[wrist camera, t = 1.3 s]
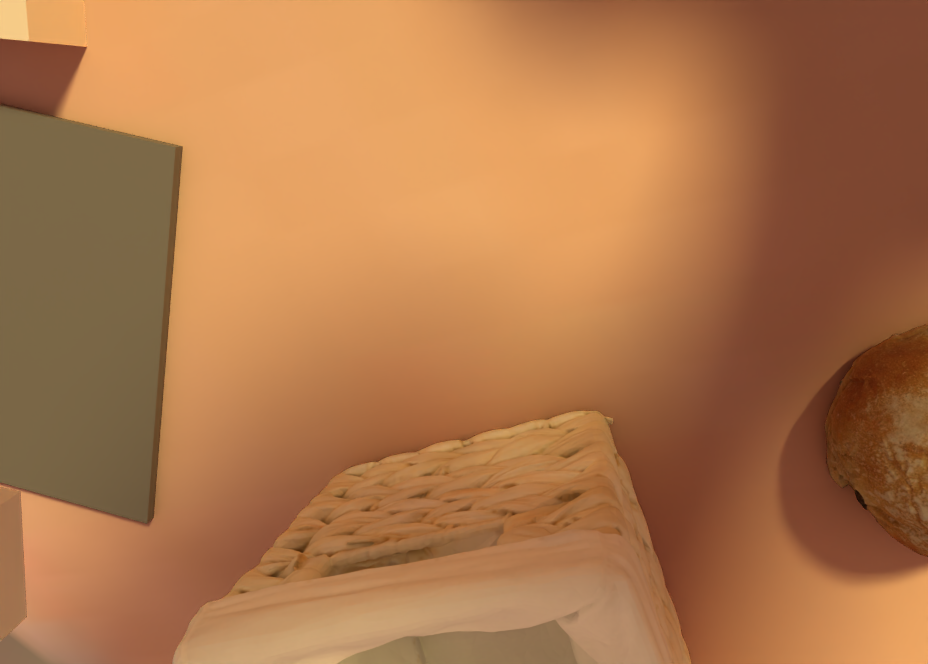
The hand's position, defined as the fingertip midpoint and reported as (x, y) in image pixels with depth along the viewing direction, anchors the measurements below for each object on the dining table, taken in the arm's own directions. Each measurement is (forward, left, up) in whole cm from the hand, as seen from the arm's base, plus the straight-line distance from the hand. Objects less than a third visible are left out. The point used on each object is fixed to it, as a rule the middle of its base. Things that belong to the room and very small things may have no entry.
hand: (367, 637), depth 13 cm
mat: (+6, -24, -22) cm, 34 cm away
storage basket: (+16, +5, -23) cm, 28 cm away
